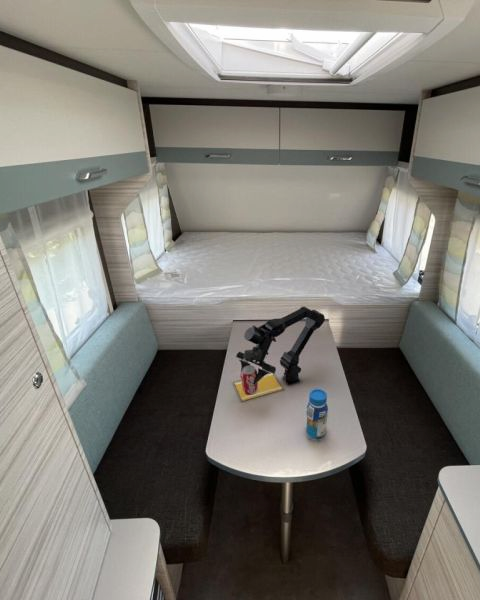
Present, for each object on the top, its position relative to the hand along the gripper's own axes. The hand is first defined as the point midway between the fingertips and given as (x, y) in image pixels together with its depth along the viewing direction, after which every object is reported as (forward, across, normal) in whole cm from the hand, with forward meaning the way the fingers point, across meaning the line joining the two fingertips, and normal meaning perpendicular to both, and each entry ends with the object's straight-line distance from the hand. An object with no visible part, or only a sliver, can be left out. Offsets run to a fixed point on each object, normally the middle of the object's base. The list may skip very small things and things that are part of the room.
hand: (247, 381), depth 140 cm
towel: (+2, -6, +19) cm, 20 cm away
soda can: (+4, 0, +6) cm, 7 cm away
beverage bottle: (+8, +32, +13) cm, 36 cm away
